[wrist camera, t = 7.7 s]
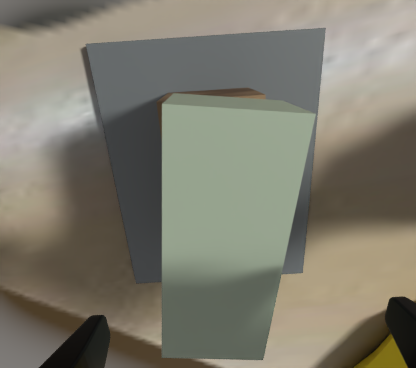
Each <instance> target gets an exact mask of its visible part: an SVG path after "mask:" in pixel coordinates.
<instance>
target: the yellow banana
mask: <svg viewBox="0 0 416 368" xmlns="http://www.w3.org/2000/svg"><path fill="white" fill-rule="evenodd" d="M353 368H408V367H407V365H406V363H405V361H404V359H403V357H402V355H401V353H400V351H399V349H398V347H397V345H396V343H395V341H394V339H393V336H392V334H390V335H389V336H388V337H387V338H386V339H385V340H384V341H383V342H382V344H381V345H380V346H379V347H378V348H377V349H376V350H375V351H374V352H373V353H372V354H370V355H369V356H368V357H366V358H365V359H364V360H362V361H361V362H360V363H359V364H357V365H356V366H355V367H353Z"/></svg>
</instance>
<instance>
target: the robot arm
mask: <svg viewBox="0 0 416 368" xmlns="http://www.w3.org/2000/svg"><path fill="white" fill-rule="evenodd" d="M385 321H386V324H387V326H388V328H389V330H390V332H391V334H392V336H393V339H394V341H395V343H396V345H397V347H398V349H399V351H400V353H401V355H402V357H403V359H404V361H405V363H406V365H407V367H408V368H416V303H415V302H413V301H412V300H410V299H408V298H406V297H392V298H390V299H389V302H388V306H387V310H386V314H385ZM109 343H110V331H109V327H108V324H107V320H106V317H105V316H104V315H93V316H90V317H89V318H88V319H87V320H86V321H85V322H84V323H83V324H82V325H81V326H80V327H79V328H78V329H77V330H76V331H75V332H74V333H73V334H72V335H71V336H70V337H69V338H68V339H67V340H66V341H65V342H64V343H63V344H62V345H61V346H60V347H59V348H58V349H57V350H56V351H55V352H54V353H53V354H52V355H51V356H50V357H49V358H48V359H47V360H46V361H45V362H44V363H43V364H42V365H41V366H40V367H39V368H104V367H105V362H106V357H107V352H108V348H109Z"/></svg>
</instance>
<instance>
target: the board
mask: <svg viewBox="0 0 416 368" xmlns="http://www.w3.org/2000/svg"><path fill="white" fill-rule="evenodd" d="M325 29H326V28H316V29H301V30H286V31H271V32H256V33H241V34H226V35H211V36H196V37H182V38H167V39H152V40H137V41H122V42H107V43H92V44H86V47H87V52H88V57H89V62H90V66H91V71H92V76H93V81H94V85H95V90H96V95H97V100H98V104H99V109H100V114H101V119H102V123H103V128H104V133H105V138H106V142H107V147H108V152H109V157H110V161H111V166H112V171H113V176H114V180H115V185H116V190H117V195H118V199H119V204H120V209H121V214H122V218H123V223H124V228H125V233H126V237H127V242H128V247H129V252H130V256H131V261H132V266H133V271H134V275H135V280H136V283H151V282H162V141H161V133H160V125H159V118H158V110H157V101H158V100H160V99H161V98H162V97H164V96H165V95H166V94H168V93H172V92H188V91H203V90H218V89H233V88H248V87H249V88H251V89H253V90H256V91H258V92H260V93H263V94H265V95H266V99H268V100H283V101H285V102H288V103H290V104H293V105H295V106H298V107H300V108H302V109H305V110H307V111H310V112H312V113H315V114H316V116H315V120H314V125H313V130H312V134H311V139H310V144H309V148H308V153H307V158H306V162H305V167H304V172H303V176H302V181H301V186H300V190H299V195H298V200H297V204H296V209H295V214H294V218H293V223H292V228H291V232H290V237H289V242H288V246H287V251H286V255H285V260H284V265H283V269H282V274H295V273H303V264H304V254H305V243H306V232H307V222H308V211H309V200H310V190H311V179H312V168H313V158H314V147H315V136H316V126H317V115H318V104H319V93H320V83H321V72H322V61H323V51H324V40H325Z"/></svg>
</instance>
